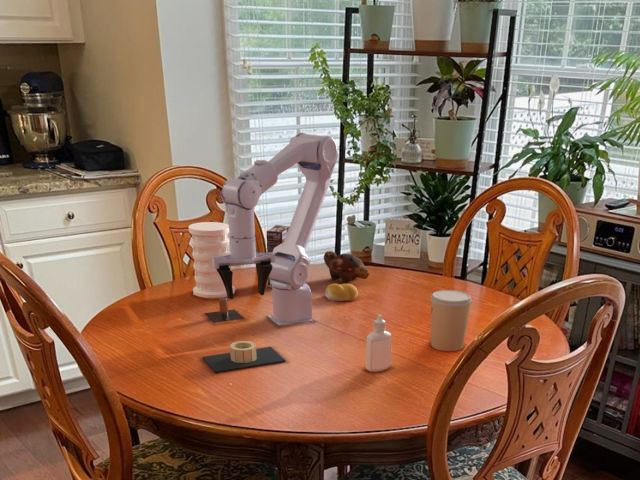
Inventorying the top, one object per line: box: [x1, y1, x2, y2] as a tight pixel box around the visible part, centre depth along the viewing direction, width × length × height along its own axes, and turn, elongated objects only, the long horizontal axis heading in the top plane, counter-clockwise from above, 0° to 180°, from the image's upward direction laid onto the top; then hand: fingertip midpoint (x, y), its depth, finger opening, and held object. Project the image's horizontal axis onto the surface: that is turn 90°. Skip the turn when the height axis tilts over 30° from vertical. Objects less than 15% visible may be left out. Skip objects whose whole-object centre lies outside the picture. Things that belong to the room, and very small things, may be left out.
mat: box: [202, 346, 286, 374], centre depth 157 cm, size 16×9×1 cm, turn 117°
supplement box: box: [266, 224, 290, 289], centre depth 203 cm, size 9×5×16 cm, turn 168°
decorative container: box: [187, 221, 236, 299], centre depth 194 cm, size 12×12×18 cm
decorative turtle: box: [323, 250, 370, 284], centre depth 211 cm, size 10×15×8 cm, turn 67°
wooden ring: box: [229, 340, 257, 363], centre depth 156 cm, size 6×6×3 cm
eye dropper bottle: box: [365, 313, 393, 373], centre depth 152 cm, size 4×6×12 cm
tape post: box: [204, 297, 245, 324], centre depth 180 cm, size 8×8×5 cm
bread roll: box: [324, 283, 359, 302], centre depth 198 cm, size 8×9×4 cm
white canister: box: [430, 289, 473, 352], centre depth 166 cm, size 9×9×12 cm
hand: (245, 295), depth 167 cm, fingers open, 7 cm apart
